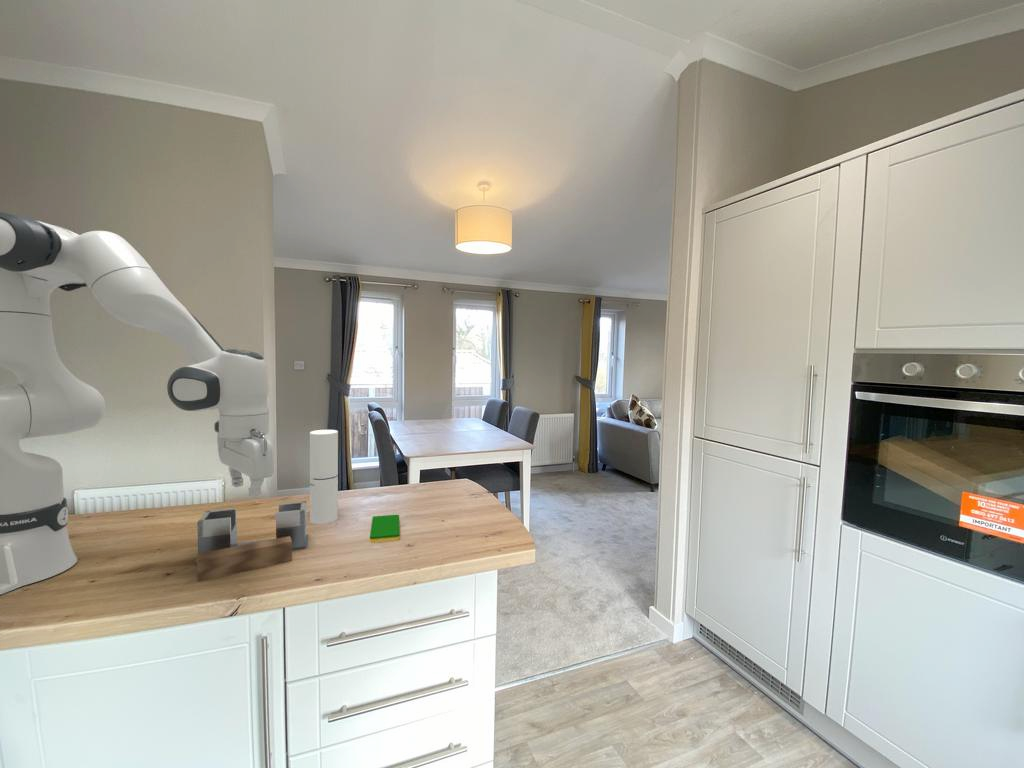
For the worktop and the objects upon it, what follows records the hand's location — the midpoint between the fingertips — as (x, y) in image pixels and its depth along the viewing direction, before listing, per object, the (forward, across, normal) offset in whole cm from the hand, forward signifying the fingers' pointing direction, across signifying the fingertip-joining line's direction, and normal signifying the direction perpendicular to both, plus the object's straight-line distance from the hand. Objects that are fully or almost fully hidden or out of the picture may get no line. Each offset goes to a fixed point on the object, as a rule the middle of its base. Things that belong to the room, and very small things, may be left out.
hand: (245, 490), depth 90 cm
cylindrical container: (+17, +14, -24) cm, 33 cm away
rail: (+17, 0, 0) cm, 17 cm away
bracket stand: (+17, +8, -5) cm, 19 cm away
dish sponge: (+18, -6, -31) cm, 36 cm away
